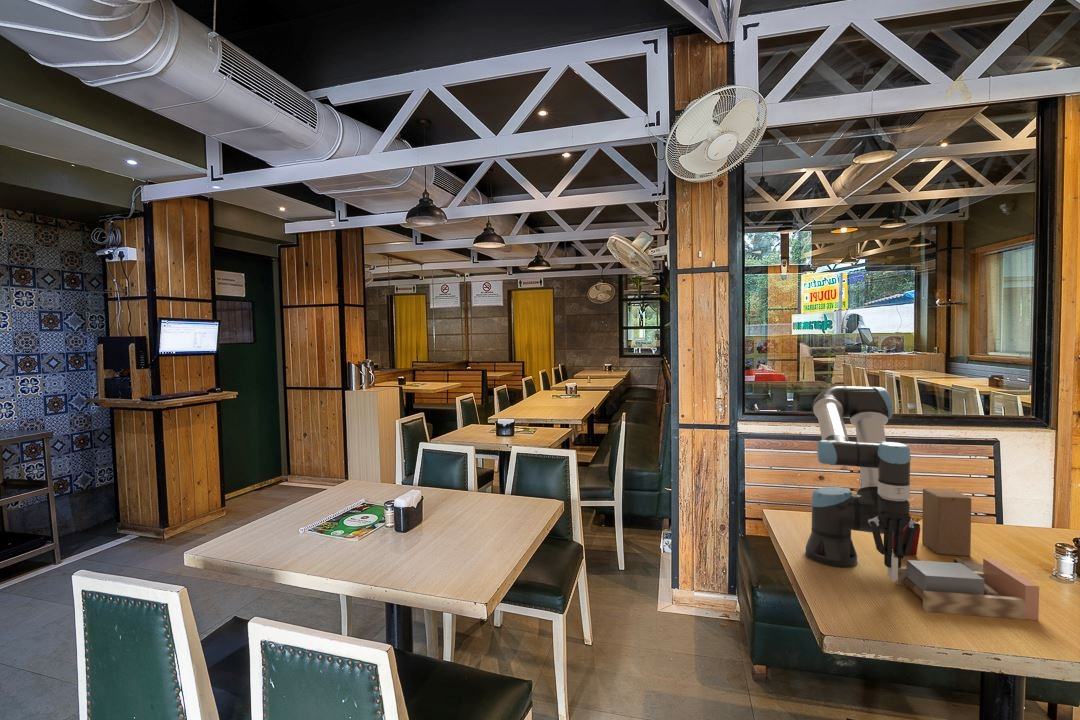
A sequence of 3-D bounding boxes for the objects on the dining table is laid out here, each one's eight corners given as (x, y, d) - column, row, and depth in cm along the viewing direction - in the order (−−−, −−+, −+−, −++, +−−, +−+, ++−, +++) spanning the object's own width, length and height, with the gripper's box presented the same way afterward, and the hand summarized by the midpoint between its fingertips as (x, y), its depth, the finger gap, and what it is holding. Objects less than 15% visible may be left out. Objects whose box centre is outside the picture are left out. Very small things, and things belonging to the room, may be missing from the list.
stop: (1024, 619, 132) (1025, 585, 131) (982, 588, 148) (983, 558, 147) (1038, 620, 131) (1039, 586, 131) (994, 589, 147) (995, 559, 147)
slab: (925, 593, 139) (925, 575, 139) (906, 576, 149) (906, 559, 148) (983, 597, 136) (984, 579, 136) (960, 580, 146) (961, 563, 146)
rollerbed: (925, 611, 136) (926, 593, 136) (895, 582, 152) (895, 566, 152) (1024, 619, 132) (1025, 600, 131) (982, 588, 148) (983, 571, 148)
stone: (1016, 581, 152) (1017, 571, 152) (1012, 590, 147) (1013, 580, 147) (954, 565, 164) (954, 556, 164) (948, 573, 158) (948, 564, 158)
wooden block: (971, 556, 169) (972, 498, 168) (937, 554, 171) (938, 496, 170) (953, 544, 179) (954, 489, 178) (921, 542, 181) (922, 488, 180)
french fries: (921, 556, 170) (921, 512, 169) (896, 556, 170) (896, 513, 169) (903, 546, 178) (903, 504, 178) (879, 546, 179) (880, 504, 178)
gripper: (874, 500, 141) (873, 582, 142) (926, 502, 139) (925, 586, 140) (862, 492, 149) (861, 570, 150) (912, 494, 146) (911, 573, 147)
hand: (892, 578), depth 145 cm, fingers closed
